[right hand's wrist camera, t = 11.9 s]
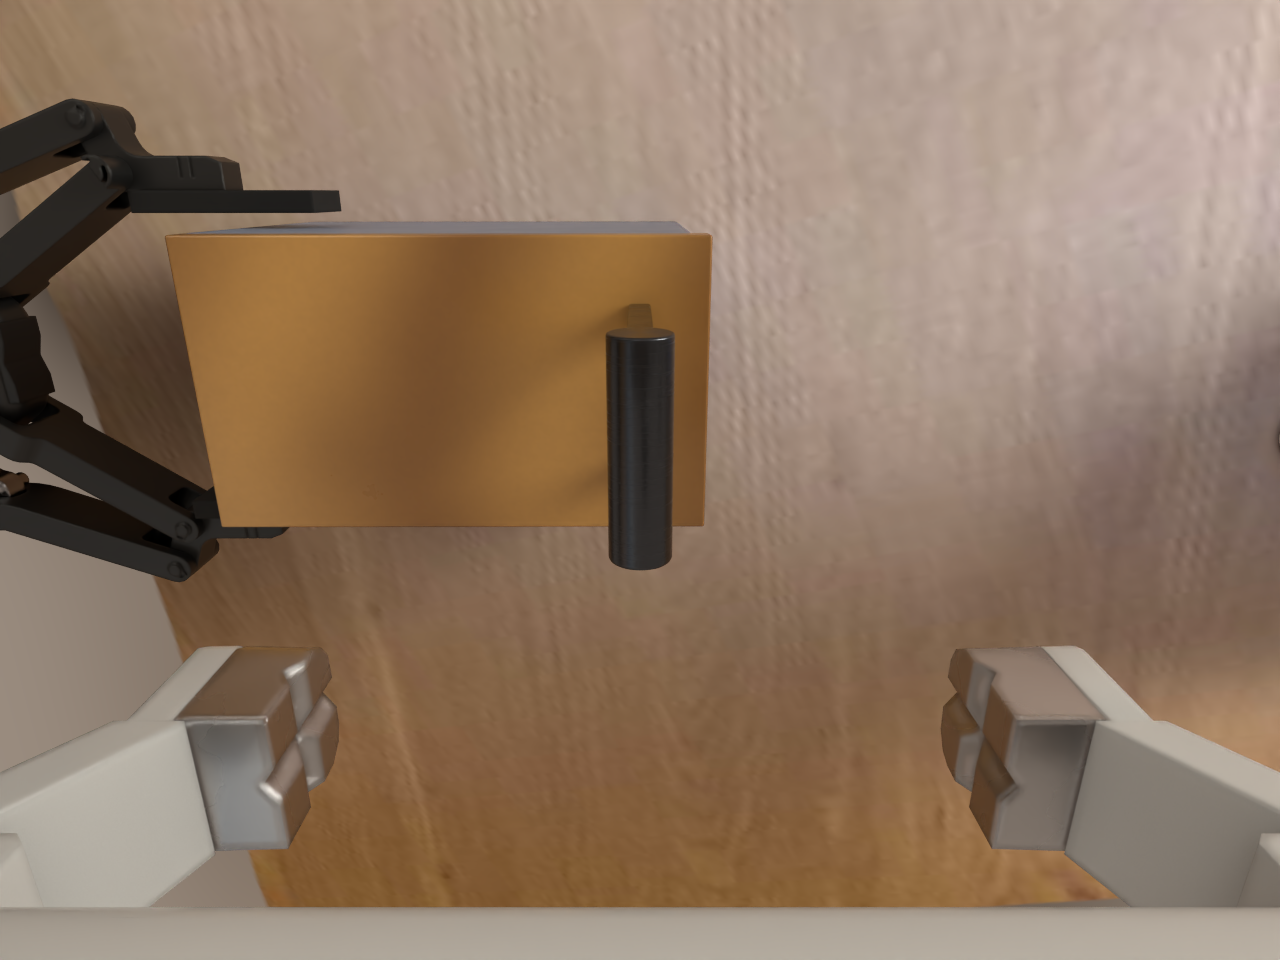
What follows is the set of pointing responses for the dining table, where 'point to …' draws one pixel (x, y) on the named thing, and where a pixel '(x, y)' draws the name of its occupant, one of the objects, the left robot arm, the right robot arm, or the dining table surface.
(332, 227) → the chest
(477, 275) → the door
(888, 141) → the dining table surface
